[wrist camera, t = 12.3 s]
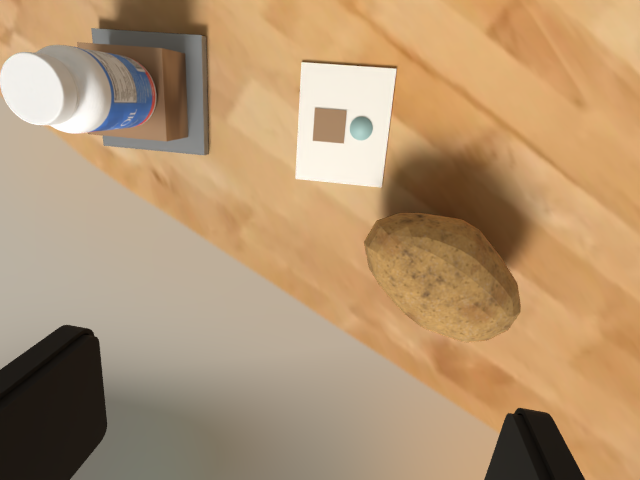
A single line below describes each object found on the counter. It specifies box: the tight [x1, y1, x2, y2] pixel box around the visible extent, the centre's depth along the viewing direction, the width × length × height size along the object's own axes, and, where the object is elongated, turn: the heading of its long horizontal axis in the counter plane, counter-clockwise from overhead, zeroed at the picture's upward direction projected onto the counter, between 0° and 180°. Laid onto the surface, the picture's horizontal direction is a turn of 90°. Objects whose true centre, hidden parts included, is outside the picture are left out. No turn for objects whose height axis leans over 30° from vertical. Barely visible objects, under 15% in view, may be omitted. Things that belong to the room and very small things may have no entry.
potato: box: [364, 213, 520, 342], centre depth 35 cm, size 10×14×8 cm
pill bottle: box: [0, 45, 156, 133], centre depth 28 cm, size 6×5×10 cm
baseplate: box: [91, 28, 209, 155], centre depth 37 cm, size 10×10×1 cm
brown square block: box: [77, 42, 188, 141], centre depth 34 cm, size 7×7×4 cm
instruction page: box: [295, 62, 396, 187], centre depth 36 cm, size 10×8×1 cm
